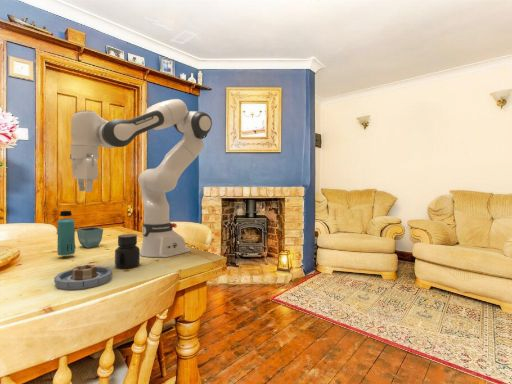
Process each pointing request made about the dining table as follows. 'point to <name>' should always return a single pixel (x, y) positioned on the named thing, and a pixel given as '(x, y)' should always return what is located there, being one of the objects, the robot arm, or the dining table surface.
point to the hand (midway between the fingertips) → (85, 191)
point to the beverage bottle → (66, 235)
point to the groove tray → (67, 282)
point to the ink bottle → (127, 252)
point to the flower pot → (90, 236)
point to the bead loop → (84, 272)
